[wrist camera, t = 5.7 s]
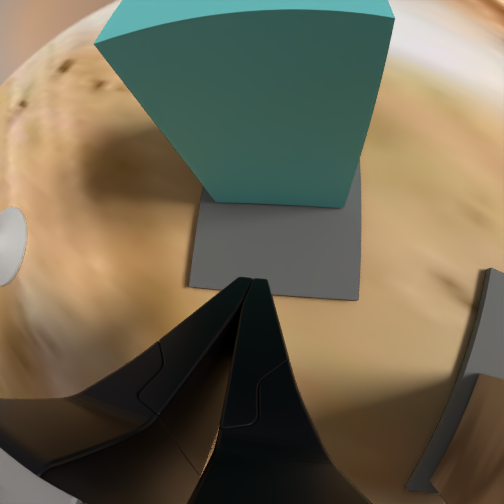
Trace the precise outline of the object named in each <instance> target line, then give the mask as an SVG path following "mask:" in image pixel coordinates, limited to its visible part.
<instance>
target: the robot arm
mask: <svg viewBox="0 0 504 504" xmlns="http://www.w3.org/2000/svg"><path fill="white" fill-rule="evenodd" d="M219 425H220V426H219ZM218 427H219V432H218V437H217V441H216V445H215V448H214V451H213V453H212V456H211V458H210V460H209V462H208V464H207V466H206V468H205V470H204V471H203V468H204V466H205V463H206V460H207V458H208V455H209V452H210V449H211V447H212V444H213V441H214V439H215V436H216V433H217V430H218ZM202 471H203V473H202ZM201 474H202V475H201ZM200 476H201V477H200ZM0 504H372V503H371V502H370V501H369V500H368V499H367V498H366V497H365V496H364V495H363V494H362V493H361V492H360V491H359V490H358V489H357V488H356V487H355V486H354V485H353V483H352V482H351V481H350V480H349V479H348V478H347V477H346V476H345V475H344V474H343V473H342V472H341V471H340V470H339V468H338V467H337V466H336V465H335V464H334V462H333V461H332V459H331V458H330V456H329V454H328V453H327V451H326V449H325V447H324V445H323V443H322V441H321V439H320V437H319V435H318V432H317V430H316V428H315V426H314V424H313V422H312V419H311V417H310V415H309V413H308V411H307V409H306V407H305V404H304V402H303V399H302V397H301V394H300V392H299V389H298V387H297V383H296V380H295V377H294V374H293V370H292V367H291V363H290V362H289V356H288V352H287V349H286V345H285V341H284V338H283V334H282V330H281V326H280V323H279V319H278V315H277V312H276V308H275V304H274V301H273V297H272V293H271V290H270V286H269V282H268V280H267V279H262V278H254V279H252V278H250V277H238V278H236V279H235V280H234V281H233V282H231V283H230V284H229V285H228V286H226V287H225V288H224V289H223V290H221V291H220V292H219V293H218V294H216V295H215V296H214V297H213V298H211V299H210V300H209V301H208V302H206V303H205V304H204V305H203V306H201V307H200V308H199V309H198V310H196V311H195V312H194V313H193V314H191V315H190V316H189V317H188V318H186V319H185V320H184V321H182V322H181V323H180V324H179V325H177V326H176V327H175V328H174V329H172V330H171V331H170V332H169V333H167V334H166V335H165V336H163V337H162V338H161V339H160V340H159V341H157V342H156V343H154V344H153V345H152V346H151V347H149V348H148V349H147V350H145V351H144V352H143V353H141V354H140V355H139V356H137V357H136V358H135V359H133V360H132V361H130V362H129V363H127V364H125V365H124V366H122V367H121V368H119V369H118V370H116V371H115V372H113V373H111V374H110V375H108V376H107V377H105V378H103V379H102V380H100V381H98V382H97V383H95V384H93V385H92V386H90V387H89V388H87V389H85V390H83V391H82V392H80V393H77V394H75V395H72V396H69V397H64V398H50V399H1V398H0Z"/></svg>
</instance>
